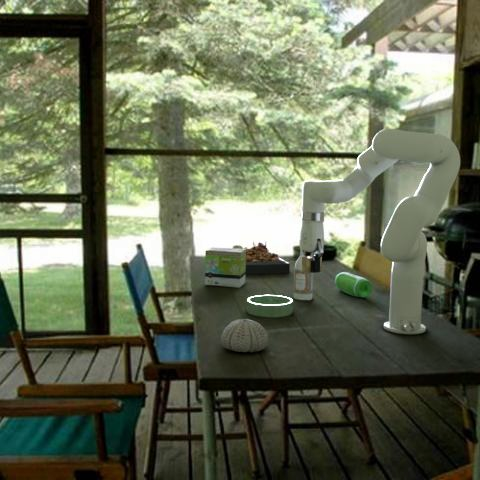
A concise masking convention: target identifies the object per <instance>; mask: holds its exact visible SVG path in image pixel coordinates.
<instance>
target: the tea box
mask: <svg viewBox="0 0 480 480" xmlns="http://www.w3.org/2000/svg"><path fill="white" fill-rule="evenodd" d="M204 261H205V262H204V263H205V264H204V285H205V286H219V287H229V288H237V289H239V288H241V287H242V286H243V285H245V283H246V274H245V269H246V249H232V248H231V247H213V246H212V247H211V248H208V249H206V250H205V259H204Z"/></svg>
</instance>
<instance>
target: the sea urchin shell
mask: <svg viewBox="0 0 480 480" xmlns="http://www.w3.org/2000/svg"><path fill="white" fill-rule="evenodd" d="M270 340H271V339H270V336H269V333H268V331H267V330H266V329H265V328H264V327H263V326H262V325H261V323H259V322H257V321H255V320H251V319H249V318H242V319H235V320H232V321H231V322H230V323H229V324H227V325H226V327H224V330H223V331H222V333H221V335H220V344H221V345H222V347H224V348H225V349H227V350H230V351H233V352H235V353H236V352H238V353H240V352H242V353H247V352H249V353H255V352H260V351H262V350H264V349H265V348H267V347H268V345H269V344H270Z"/></svg>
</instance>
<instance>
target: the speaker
mask: <svg viewBox="0 0 480 480" xmlns="http://www.w3.org/2000/svg"><path fill="white" fill-rule="evenodd" d="M334 285H335V286H336V287H337V289H339V290H340V291H341V292H343V293H345V294H347V295H350V296H352V297H357V298H361V299H363V298H367V297H369V296H370V295H371V293H372V292H373V285H372V283H371V282H370V281H369V280H368V279H367V278H365V277H362V276H359V275H356V274H353V273H350V272H348V271H347V272H346V271H343V272H339V273H337V274H336V275H335V278H334Z"/></svg>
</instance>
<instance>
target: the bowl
mask: <svg viewBox="0 0 480 480" xmlns="http://www.w3.org/2000/svg"><path fill="white" fill-rule="evenodd" d="M246 304H247V306H246V307H247V313H248V314H249V315H251V316H255V317H263V318H283V317H287V316H290V315H292V314H293V311H294V310H293V309H294V300H293V299H292V298H291V297H287V296H283V295H277V294H276V295H275V294H263V295H261V294H260V295H254V296H250V297H248V298H247V303H246Z"/></svg>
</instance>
